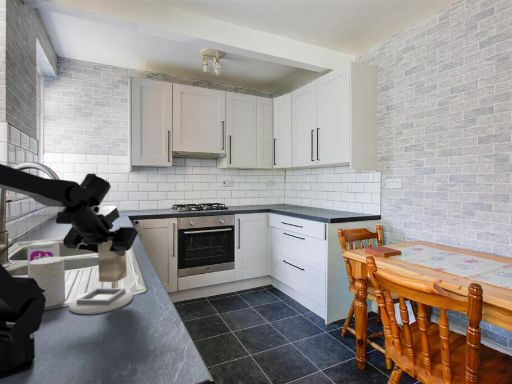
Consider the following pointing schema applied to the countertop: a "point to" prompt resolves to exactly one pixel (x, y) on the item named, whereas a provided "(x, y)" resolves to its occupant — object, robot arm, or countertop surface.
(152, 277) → the countertop surface
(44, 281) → the cup
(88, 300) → the locating plate
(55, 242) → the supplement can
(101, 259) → the birch block
